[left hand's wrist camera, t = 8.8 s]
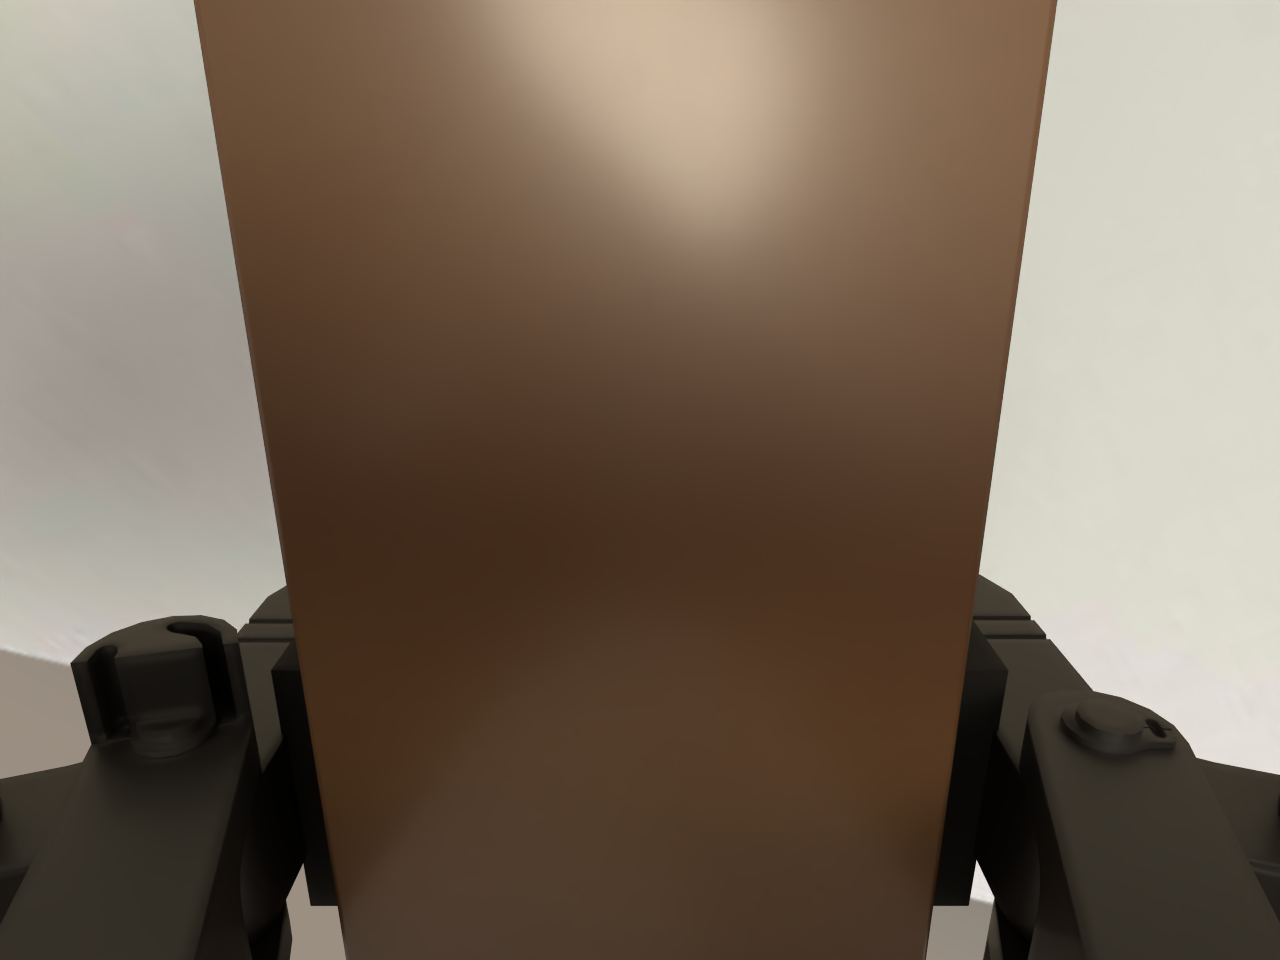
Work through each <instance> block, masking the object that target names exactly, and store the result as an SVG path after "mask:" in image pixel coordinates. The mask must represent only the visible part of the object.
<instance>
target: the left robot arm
mask: <svg viewBox="0 0 1280 960" xmlns="http://www.w3.org/2000/svg"><path fill="white" fill-rule="evenodd" d="M70 664H71V668H72V671H73V675H74V679H75V683H76V687H77V690H78V694H79V698H80V702H81V706H82V710H83V713H84V717H85V721H86V725H87V729H88V732H89V736H90V740H91V747H90V748H89V750H88V752H87V754H86V756H85V758H84V760H83V762H81V763H77V764H73V765H69V766H65V767H60V768H55V769H50V770H45V771H40V772H34V773H29V774H24V775H19V776H14V777H9V778H4V779H0V960H290V953H291V945H292V934H291V926H290V919H289V914H288V909H287V903H286V898H287V896H288V894H289V892H290V890H291V888H292V886H293V884H294V881H295V879H296V877H297V875H298V873H299V871H300V869H301V867H302V864H303V863H304V869H305V875H306V881H307V887H308V892H309V898H310V904H311V906H338V905H337V898H336V892H335V886H334V879H333V873H332V867H331V861H330V854H329V848H328V842H327V835H326V829H325V823H324V816H323V810H322V804H321V798H320V791H319V785H318V779H317V772H316V766H315V760H314V754H313V747H312V741H311V735H310V728H309V722H308V716H307V710H306V703H305V697H304V691H303V684H302V678H301V672H300V666H299V659H298V653H297V647H296V640H295V634H294V628H293V622H292V615H291V609H290V603H289V596H288V590H287V586H285V587H283V588H282V589H280V590H278V591H277V592H275V593H273V594H272V595H270V596H268V597H267V598H266V600H265V601H264V602H263V603H262V604H261V606H260V607H259V608H258V609H257V610H256V612H255V613H254V614H253V615H252V616H251V618H250V619H249V624H245V625H244V626H243V627H242V629H241V630H240V631H239V632H238V633H237V629H236V628H234V627H233V626H231V625H230V624H229V623H227V622H226V621H225V620H222V619H217V618H212V617H207V616H202V615H196V616H171V617H166V618H161V619H156V620H151V621H146V622H141V623H138V624H135V625H133V626H130V627H127V628H124V629H121V630H119V631H116V632H113V633H111V634H109V635H107V636H105V637H104V638H102V639H100V640H98V641H96V642H95V643H93V644H91V645H89V646H88V647H86V648H85V649H84V650H83V651H82V652H81V653H80V654H79V655H78V656H77V657H76V658H75V659H74V660H73V661H72V662H71V663H70ZM976 859H977V861H978V863H979V866H980V868H981V870H982V872H983V874H984V876H985V878H986V880H987V882H988V885H989V887H990V889H991V891H992V893H993V895H994V897H995V898H994V903H993V909H992V914H991V919H990V925H989V931H988V936H987V942H986V947H985V952H984V958H983V960H1280V775H1277V774H1272V773H1267V772H1261V771H1256V770H1251V769H1246V768H1241V767H1236V766H1230V765H1225V764H1220V763H1215V762H1211V761H1207V760H1203V759H1199V758H1196V757H1195V755H1194V753H1193V751H1192V749H1191V747H1190V745H1189V743H1188V742H1187V741H1186V739H1185V738H1184V737H1183V736H1182V735H1181V733H1180V732H1179V731H1178V730H1177V729H1176V727H1175V726H1174V725H1173V724H1171V723H1170V722H1168V721H1167V720H1165V719H1164V718H1162V717H1161V716H1159V715H1158V714H1156V713H1155V712H1153V711H1152V710H1150V709H1148V708H1145V707H1143V706H1141V705H1138V704H1136V703H1133V702H1131V701H1129V700H1126V699H1124V698H1121V697H1117V696H1113V695H1108V694H1104V693H1099V692H1095V691H1093V690H1092V689H1091V688H1090V686H1089V685H1088V684H1087V683H1086V682H1085V680H1084V679H1083V678H1082V677H1081V676H1080V674H1079V673H1078V672H1077V671H1076V670H1075V669H1074V667H1073V666H1072V665H1071V664H1070V663H1069V661H1068V660H1067V659H1066V658H1065V657H1064V655H1063V654H1062V653H1061V652H1060V651H1059V649H1058V648H1057V647H1056V646H1055V645H1054V643H1053V642H1052V641H1051V640H1050V639H1046V634H1045V633H1044V631H1043V630H1042V629H1041V628H1040V627H1039V625H1038V624H1037V623H1036V622H1035V621H1034V620H1031V616H1030V615H1029V613H1028V612H1027V611H1026V610H1025V609H1024V607H1023V606H1022V605H1021V604H1020V603H1019V602H1018V600H1017V599H1016V598H1015V597H1014V596H1013V594H1012V593H1010V592H1008V591H1007V590H1005V589H1003V588H1001V587H1000V586H998V585H996V584H995V583H993V582H991V581H990V580H988V579H986V578H985V577H983V576H981V575H978V582H977V589H976V596H975V604H974V611H973V618H972V626H971V633H970V640H969V647H968V655H967V662H966V669H965V677H964V684H963V691H962V699H961V706H960V713H959V720H958V728H957V735H956V742H955V750H954V757H953V764H952V771H951V779H950V786H949V793H948V801H947V808H946V815H945V822H944V830H943V837H942V844H941V852H940V859H939V866H938V873H937V881H936V888H935V895H934V903H933V906H968V905H969V900H970V895H971V889H972V883H973V877H974V871H975V865H976Z"/></svg>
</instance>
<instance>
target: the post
mask: <svg viewBox="0 0 1280 960" xmlns="http://www.w3.org/2000/svg"><path fill="white" fill-rule="evenodd" d="M194 5H195V12H196V18H197V24H198V31H199V37H200V43H201V49H202V56H203V62H204V68H205V75H206V81H207V87H208V93H209V100H210V106H211V112H212V119H213V125H214V131H215V137H216V144H217V150H218V156H219V163H220V169H221V175H222V181H223V188H224V194H225V200H226V207H227V213H228V219H229V225H230V232H231V238H232V244H233V251H234V257H235V263H236V269H237V276H238V282H239V288H240V295H241V301H242V307H243V313H244V320H245V326H246V332H247V339H248V345H249V351H250V357H251V364H252V370H253V376H254V383H255V389H256V395H257V402H258V408H259V414H260V420H261V427H262V433H263V439H264V446H265V452H266V458H267V464H268V471H269V477H270V483H271V490H272V496H273V502H274V508H275V515H276V521H277V527H278V534H279V540H280V546H281V552H282V559H283V565H284V571H285V578H286V584H287V590H288V596H289V603H290V609H291V615H292V622H293V628H294V634H295V640H296V647H297V653H298V659H299V666H300V672H301V678H302V684H303V691H304V697H305V703H306V710H307V716H308V722H309V728H310V735H311V741H312V747H313V754H314V760H315V766H316V772H317V779H318V785H319V791H320V798H321V804H322V810H323V816H324V823H325V829H326V835H327V842H328V848H329V854H330V861H331V867H332V873H333V879H334V886H335V892H336V898H337V905H338V911H339V917H340V923H341V929H342V936H343V942H344V948H345V955H346V960H926V953H927V946H928V939H929V932H930V925H931V917H932V910H933V903H934V895H935V888H936V881H937V873H938V866H939V859H940V852H941V844H942V837H943V830H944V822H945V815H946V808H947V801H948V793H949V786H950V779H951V771H952V764H953V757H954V750H955V742H956V735H957V728H958V720H959V713H960V706H961V699H962V691H963V684H964V677H965V669H966V662H967V655H968V647H969V640H970V633H971V626H972V618H973V611H974V604H975V596H976V589H977V582H978V575H979V567H980V560H981V553H982V545H983V538H984V531H985V524H986V516H987V509H988V502H989V494H990V487H991V480H992V473H993V465H994V458H995V451H996V443H997V436H998V429H999V421H1000V414H1001V407H1002V400H1003V392H1004V385H1005V378H1006V370H1007V363H1008V356H1009V349H1010V341H1011V334H1012V327H1013V319H1014V312H1015V305H1016V298H1017V290H1018V283H1019V276H1020V268H1021V261H1022V254H1023V246H1024V239H1025V232H1026V225H1027V217H1028V210H1029V203H1030V195H1031V188H1032V181H1033V174H1034V166H1035V159H1036V152H1037V144H1038V137H1039V130H1040V123H1041V115H1042V108H1043V101H1044V93H1045V86H1046V79H1047V72H1048V64H1049V57H1050V50H1051V42H1052V35H1053V28H1054V20H1055V13H1056V6H1057V0H194Z"/></svg>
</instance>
